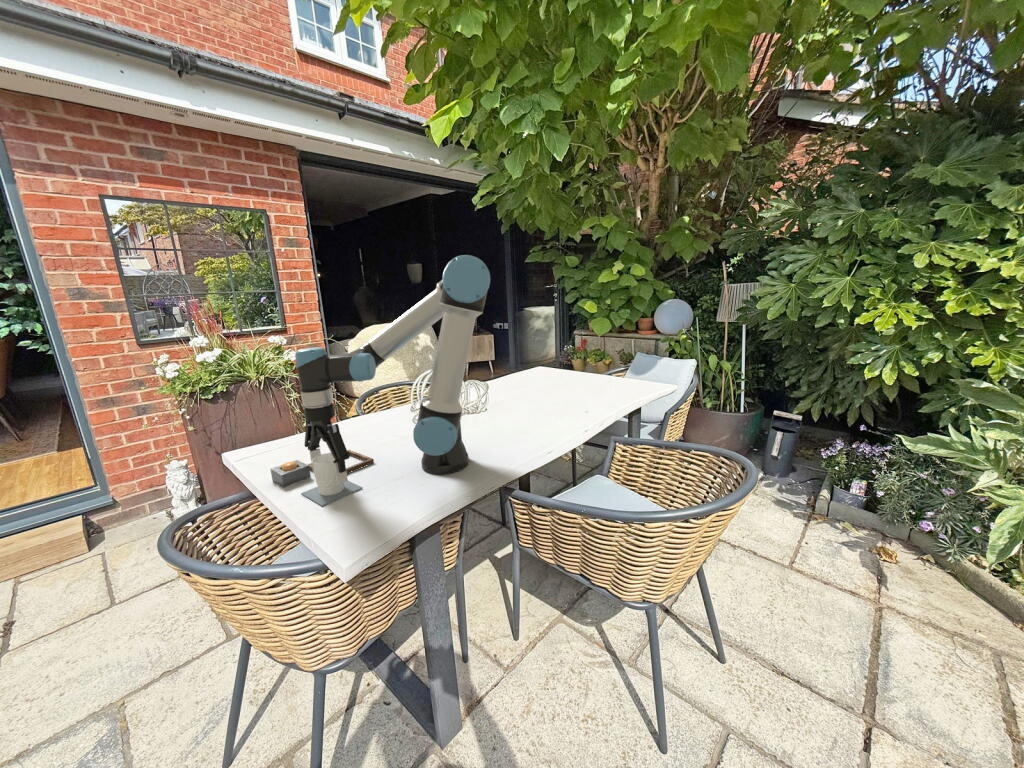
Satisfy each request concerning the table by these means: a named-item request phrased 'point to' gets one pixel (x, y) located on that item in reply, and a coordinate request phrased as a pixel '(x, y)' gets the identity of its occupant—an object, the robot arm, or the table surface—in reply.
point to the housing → (290, 474)
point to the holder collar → (365, 462)
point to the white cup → (326, 475)
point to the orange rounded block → (289, 466)
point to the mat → (324, 500)
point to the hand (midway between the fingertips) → (329, 476)
